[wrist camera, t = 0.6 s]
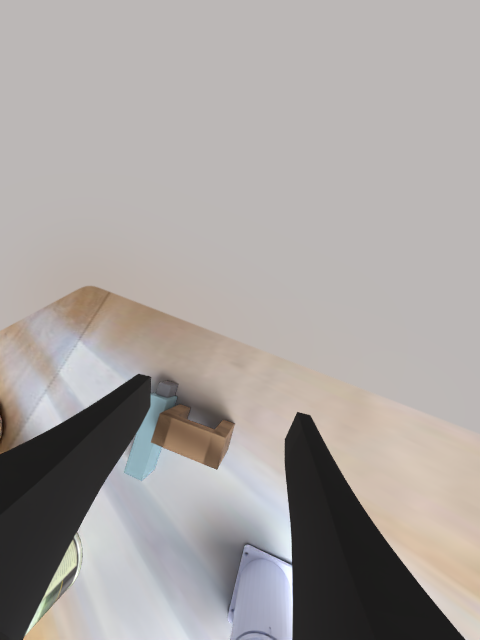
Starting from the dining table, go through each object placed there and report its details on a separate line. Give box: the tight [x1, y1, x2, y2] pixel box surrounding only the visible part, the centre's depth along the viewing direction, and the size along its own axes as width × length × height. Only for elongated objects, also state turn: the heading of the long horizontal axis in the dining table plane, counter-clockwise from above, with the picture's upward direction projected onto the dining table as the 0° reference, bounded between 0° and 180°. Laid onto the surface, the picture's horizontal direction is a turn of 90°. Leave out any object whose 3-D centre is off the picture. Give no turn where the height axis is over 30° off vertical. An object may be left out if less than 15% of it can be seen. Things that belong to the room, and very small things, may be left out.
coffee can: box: [25, 533, 82, 635], centre depth 28 cm, size 10×10×14 cm
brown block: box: [151, 404, 235, 469], centre depth 32 cm, size 4×10×7 cm, turn 74°
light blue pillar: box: [124, 381, 178, 481], centre depth 35 cm, size 14×3×4 cm, turn 164°
